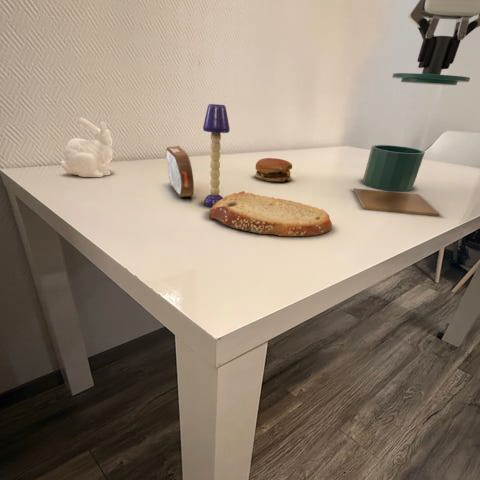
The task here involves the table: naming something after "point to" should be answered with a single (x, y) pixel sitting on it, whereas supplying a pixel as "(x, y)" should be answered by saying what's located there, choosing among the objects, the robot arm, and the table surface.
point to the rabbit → (89, 152)
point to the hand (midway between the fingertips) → (433, 66)
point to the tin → (180, 171)
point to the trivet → (394, 202)
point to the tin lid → (434, 67)
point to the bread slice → (270, 215)
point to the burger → (273, 169)
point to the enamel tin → (392, 167)
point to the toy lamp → (215, 147)
